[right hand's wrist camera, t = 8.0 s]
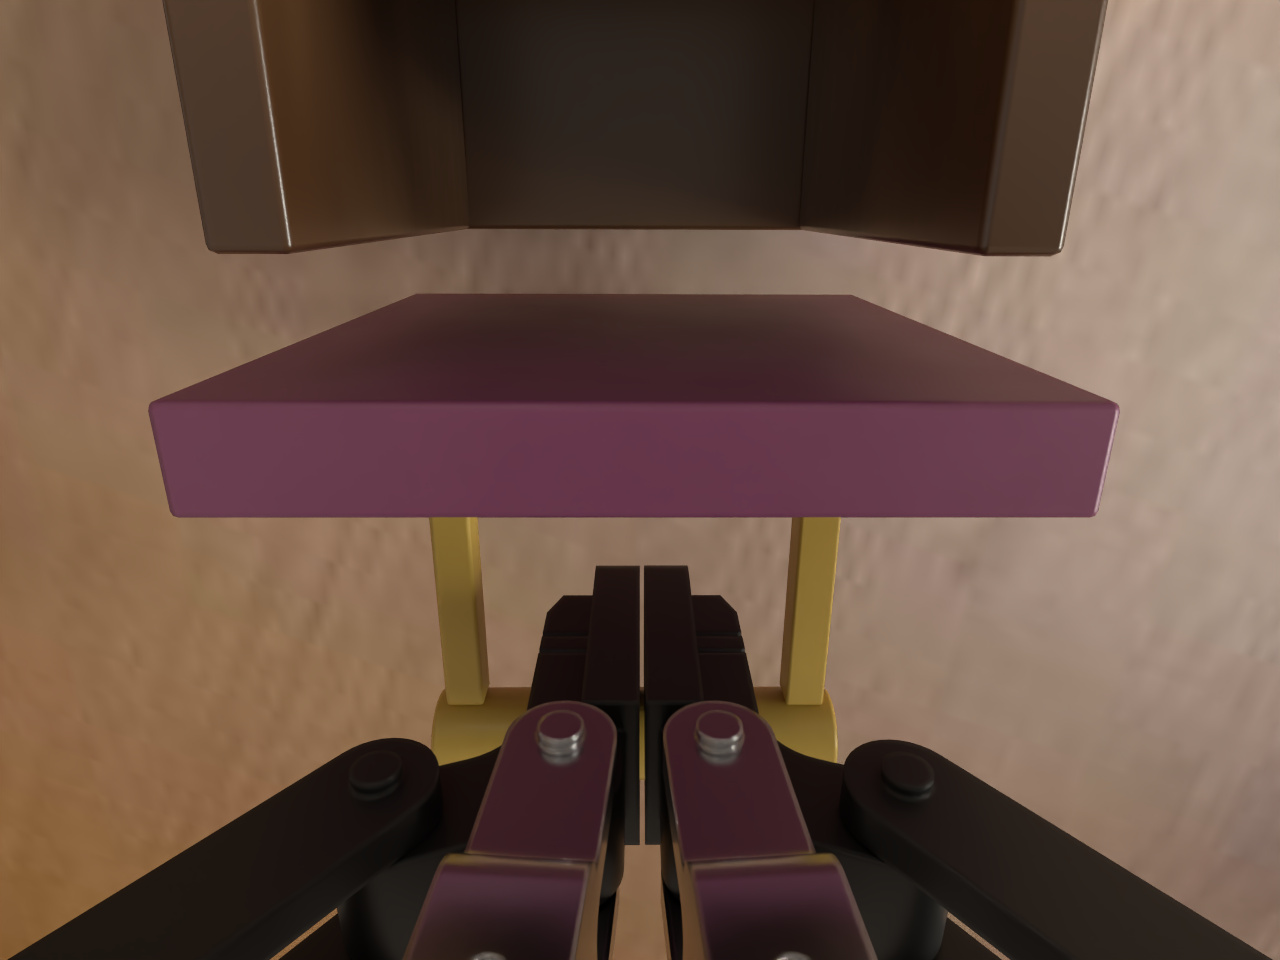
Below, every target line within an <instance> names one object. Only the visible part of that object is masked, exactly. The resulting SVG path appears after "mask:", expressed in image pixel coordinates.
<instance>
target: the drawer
mask: <svg viewBox="0 0 1280 960" xmlns="http://www.w3.org/2000/svg"><path fill="white" fill-rule="evenodd" d="M1107 3H1108V0H163V6H164V12H165V17H166V23H167V28H168V34H169V40H170V45H171V51H172V56H173V62H174V68H175V73H176V79H177V85H178V90H179V96H180V101H181V107H182V113H183V118H184V124H185V129H186V135H187V141H188V146H189V152H190V157H191V163H192V169H193V174H194V180H195V185H196V191H197V197H198V202H199V208H200V214H201V219H202V225H203V230H204V236H205V242H206V245H207V247H208V249H209V250H210V251H213V252H215V253H218V254H290V253H297V252H304V251H312V250H319V249H326V248H333V247H340V246H347V245H354V244H362V243H369V242H376V241H383V240H390V239H397V238H405V237H412V236H419V235H426V234H433V233H440V232H447V231H455V230H462V229H685V230H806V231H813V232H820V233H827V234H834V235H841V236H848V237H855V238H862V239H869V240H876V241H883V242H890V243H897V244H904V245H911V246H918V247H925V248H932V249H939V250H946V251H953V252H960V253H967V254H974V255H981V256H1052V255H1055V254H1057V253H1059V252H1061V250H1062V248H1063V246H1064V241H1065V236H1066V230H1067V225H1068V219H1069V214H1070V208H1071V202H1072V197H1073V191H1074V186H1075V180H1076V175H1077V169H1078V164H1079V158H1080V153H1081V147H1082V142H1083V136H1084V131H1085V125H1086V120H1087V114H1088V108H1089V103H1090V97H1091V92H1092V86H1093V81H1094V75H1095V70H1096V64H1097V59H1098V53H1099V48H1100V42H1101V37H1102V31H1103V26H1104V20H1105V15H1106V9H1107ZM148 412H149V416H150V421H151V426H152V430H153V435H154V439H155V444H156V448H157V453H158V458H159V462H160V467H161V471H162V476H163V481H164V485H165V490H166V494H167V499H168V504H169V508H170V512H171V513H172V515H173V516H176V517H429V521H430V531H431V541H432V552H433V562H434V573H435V583H436V594H437V604H438V615H439V625H440V635H441V646H442V656H443V667H444V677H445V688H446V689H444V690H443V691H442V693H441V695H440V697H439V700H438V702H437V706H436V709H435V714H434V720H433V727H432V741H431V751H432V752H433V753H434V754H435V756H436V758H437V760H438V763H439V766H441V765H445V764H449V763H453V762H457V761H461V760H466V759H470V758H473V757H476V756H480V755H482V754H485V753H487V752H490V751H492V750H494V749H495V748H497V747H499V746H501V745H502V743H503V740H504V737H505V734H506V732H507V730H508V728H509V726H510V725H511V724H512V722H513V721H514V720H515V719H516V718H517V717H518V716H519V715H521V714H522V713H524V712H525V711H527V706H528V701H529V696H530V692H531V687H489V671H488V657H487V644H486V630H485V616H484V602H483V589H482V575H481V561H480V548H479V534H478V520H477V517H792V528H791V541H790V554H789V567H788V581H787V594H786V607H785V620H784V633H783V646H782V660H781V673H780V686H781V687H753V688H754V693H755V698H756V702H757V707H758V711H759V715H761V716H762V717H763V718H764V719H765V720H766V721H767V722H768V724H769V725H770V726H771V728H772V730H773V732H774V734H775V737H776V740H778V741H779V742H781V743H782V744H783V745H785V746H786V747H788V748H790V749H792V750H794V751H796V752H799V753H801V754H804V755H806V756H810V757H813V758H817V759H821V760H825V761H829V762H833V763H837V754H838V736H837V725H836V718H835V712H834V708H833V704H832V701H831V698H830V696H829V694H828V692H827V690H826V689H825V688H824V684H825V674H826V664H827V654H828V643H829V633H830V623H831V613H832V603H833V593H834V583H835V573H836V562H837V552H838V542H839V532H840V522H841V517H1092V516H1095V515H1096V513H1097V512H1098V509H1099V504H1100V499H1101V495H1102V490H1103V486H1104V481H1105V477H1106V472H1107V468H1108V463H1109V459H1110V454H1111V449H1112V445H1113V440H1114V436H1115V431H1116V427H1117V422H1118V418H1119V413H1120V411H1119V406H1118V404H1117V403H1115V402H1112V401H1110V400H1108V399H1105V398H1103V397H1100V396H1098V395H1095V394H1093V393H1090V392H1088V391H1086V390H1083V389H1081V388H1078V387H1076V386H1073V385H1071V384H1068V383H1066V382H1063V381H1061V380H1059V379H1056V378H1054V377H1051V376H1049V375H1046V374H1044V373H1041V372H1039V371H1037V370H1034V369H1032V368H1029V367H1027V366H1024V365H1022V364H1019V363H1017V362H1014V361H1012V360H1010V359H1007V358H1005V357H1002V356H1000V355H997V354H995V353H992V352H990V351H988V350H985V349H983V348H980V347H978V346H975V345H973V344H970V343H968V342H965V341H963V340H961V339H958V338H956V337H953V336H951V335H948V334H946V333H943V332H941V331H939V330H936V329H934V328H931V327H929V326H926V325H924V324H921V323H919V322H916V321H914V320H912V319H909V318H907V317H904V316H902V315H899V314H897V313H894V312H892V311H890V310H887V309H885V308H882V307H880V306H877V305H875V304H872V303H870V302H867V301H865V300H863V299H860V298H858V297H855V296H853V295H697V294H415V295H412V296H410V297H407V298H405V299H403V300H400V301H398V302H395V303H393V304H390V305H388V306H385V307H383V308H381V309H378V310H376V311H373V312H371V313H368V314H366V315H363V316H361V317H358V318H356V319H354V320H351V321H349V322H346V323H344V324H341V325H339V326H336V327H334V328H332V329H329V330H327V331H324V332H322V333H319V334H317V335H314V336H312V337H309V338H307V339H305V340H302V341H300V342H297V343H295V344H292V345H290V346H287V347H285V348H283V349H280V350H278V351H275V352H273V353H270V354H268V355H265V356H263V357H260V358H258V359H256V360H253V361H251V362H248V363H246V364H243V365H241V366H238V367H236V368H233V369H231V370H229V371H226V372H224V373H221V374H219V375H216V376H214V377H211V378H209V379H207V380H204V381H202V382H199V383H197V384H194V385H192V386H189V387H187V388H184V389H182V390H180V391H177V392H175V393H172V394H170V395H167V396H165V397H162V398H160V399H158V400H155V401H153V402H151V403H150V405H149V410H148ZM640 780H645V758H644V687H640Z"/></svg>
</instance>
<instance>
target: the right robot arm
mask: <svg viewBox="0 0 1280 960" xmlns="http://www.w3.org/2000/svg"><path fill="white" fill-rule="evenodd" d="M644 758H645V845H660V847H661V907H662V916H663V925H664V934H665V943H666V952H667V960H1001V959H1000V958H999V957H998V956H996V955H995V954H994V953H992V952H991V951H990V950H989V949H987V948H986V947H985V946H983V945H982V944H981V943H980V942H978V941H977V940H976V939H974V938H973V937H972V936H971V935H969V934H968V933H967V932H966V931H964V930H963V929H962V928H960V927H959V926H958V925H957V924H955V923H954V922H953V921H951V920H950V919H949V918H948V917H947V914H948V912H950V913H951V914H952V915H954V916H955V917H956V918H957V919H959V920H960V921H961V922H963V923H964V924H965V925H966V926H968V927H969V928H970V929H972V930H973V931H974V932H976V933H977V934H978V935H979V936H981V937H982V938H983V939H985V940H986V941H987V942H988V943H990V944H991V945H992V946H994V947H995V948H996V949H997V950H999V951H1000V952H1001V953H1003V954H1004V955H1005V956H1007V957H1008V958H1009V959H1010V960H1272V959H1271V958H1269V957H1267V956H1266V955H1264V954H1262V953H1261V952H1259V951H1258V950H1256V949H1254V948H1253V947H1251V946H1249V945H1248V944H1246V943H1245V942H1243V941H1241V940H1240V939H1238V938H1236V937H1235V936H1233V935H1232V934H1230V933H1228V932H1227V931H1225V930H1223V929H1222V928H1220V927H1219V926H1217V925H1215V924H1214V923H1212V922H1210V921H1209V920H1207V919H1206V918H1204V917H1202V916H1201V915H1199V914H1197V913H1196V912H1194V911H1193V910H1191V909H1189V908H1188V907H1186V906H1185V905H1183V904H1181V903H1180V902H1178V901H1176V900H1175V899H1173V898H1172V897H1170V896H1168V895H1167V894H1165V893H1163V892H1162V891H1160V890H1159V889H1157V888H1155V887H1154V886H1152V885H1150V884H1149V883H1147V882H1146V881H1144V880H1142V879H1141V878H1139V877H1137V876H1136V875H1134V874H1133V873H1131V872H1129V871H1128V870H1126V869H1124V868H1123V867H1121V866H1120V865H1118V864H1116V863H1115V862H1113V861H1111V860H1110V859H1108V858H1107V857H1105V856H1103V855H1102V854H1100V853H1098V852H1097V851H1095V850H1094V849H1092V848H1090V847H1089V846H1087V845H1085V844H1084V843H1082V842H1081V841H1079V840H1077V839H1076V838H1074V837H1072V836H1071V835H1069V834H1068V833H1066V832H1064V831H1063V830H1061V829H1060V828H1058V827H1056V826H1055V825H1053V824H1051V823H1050V822H1048V821H1047V820H1045V819H1043V818H1042V817H1040V816H1038V815H1037V814H1035V813H1034V812H1032V811H1030V810H1029V809H1027V808H1025V807H1024V806H1022V805H1021V804H1019V803H1017V802H1016V801H1014V800H1012V799H1011V798H1009V797H1008V796H1006V795H1004V794H1003V793H1001V792H999V791H998V790H996V789H995V788H993V787H991V786H990V785H988V784H986V783H985V782H983V781H982V780H980V779H978V778H977V777H975V776H973V775H972V774H970V773H969V772H967V771H965V770H964V769H962V768H960V767H959V766H957V765H956V764H954V763H952V762H951V761H949V760H947V759H946V758H944V757H943V756H941V755H939V754H937V753H936V752H934V751H932V750H930V749H928V748H925V747H923V746H920V745H917V744H914V743H910V742H905V741H900V740H877V741H871V742H868V743H865V744H862V745H861V746H859V747H857V748H855V749H854V750H853V751H852V752H851V753H850V754H849V756H848V757H847V758H846V761H845V764H844V765H842V764H838V763H833V762H829V761H825V760H821V759H817V758H813V757H810V756H806V755H804V754H801V753H799V752H796V751H794V750H792V749H790V748H788V747H786V746H785V745H783V744H782V743H781V742H779V741H778V740H776V737H775V734H774V732H773V730H772V728H771V726H770V725H769V724H768V722H767V721H766V720H765V719H764V718H763V717H762V716H761V715H759V711H758V707H757V702H756V698H755V693H754V688H753V684H752V679H751V675H750V670H749V666H748V661H747V657H746V653H745V647H744V643H743V638H742V636H741V629H740V625H739V620H738V616H737V612H736V611H735V610H734V609H733V608H732V607H731V606H730V605H729V604H728V603H727V602H726V601H725V600H724V599H723V598H722V597H721V596H720V595H691V588H690V580H689V572H688V566H644ZM625 845H640V566H596V571H595V580H594V589H593V595H564V596H563V597H562V598H561V599H560V600H559V601H558V602H557V603H556V604H555V605H554V606H553V607H552V608H551V609H550V610H549V611H548V612H547V616H546V620H545V625H544V630H543V636H542V639H541V644H540V651H539V654H538V658H537V663H536V668H535V673H534V677H533V682H532V687H531V692H530V696H529V701H528V706H527V711H525V712H524V713H522V714H521V715H519V716H518V717H517V718H516V719H515V720H514V721H513V722H512V724H511V725H510V726H509V728H508V730H507V732H506V734H505V737H504V740H503V743H502V745H501V746H499V747H497V748H495V749H494V750H492V751H490V752H487V753H485V754H482V755H480V756H476V757H473V758H470V759H466V760H461V761H457V762H453V763H449V764H445V765H441V766H439V763H438V760H437V758H436V756H435V754H434V753H433V752H432V751H431V750H430V749H429V748H428V747H427V746H425V745H423V744H421V743H420V742H417V741H414V740H410V739H404V738H387V739H379V740H374V741H370V742H367V743H363V744H361V745H358V746H356V747H354V748H351V749H350V750H348V751H346V752H344V753H342V754H341V755H339V756H337V757H336V758H334V759H333V760H331V761H329V762H328V763H326V764H324V765H323V766H321V767H320V768H318V769H316V770H315V771H313V772H311V773H310V774H308V775H307V776H305V777H303V778H302V779H300V780H298V781H297V782H295V783H294V784H292V785H290V786H289V787H287V788H285V789H284V790H282V791H281V792H279V793H277V794H276V795H274V796H272V797H271V798H269V799H268V800H266V801H264V802H263V803H261V804H259V805H258V806H256V807H255V808H253V809H251V810H250V811H248V812H246V813H245V814H243V815H242V816H240V817H238V818H237V819H235V820H234V821H232V822H230V823H229V824H227V825H225V826H224V827H222V828H221V829H219V830H217V831H216V832H214V833H212V834H211V835H209V836H208V837H206V838H204V839H203V840H201V841H199V842H198V843H196V844H195V845H193V846H191V847H190V848H188V849H186V850H185V851H183V852H182V853H180V854H178V855H177V856H175V857H173V858H172V859H170V860H169V861H167V862H165V863H164V864H162V865H160V866H159V867H157V868H156V869H154V870H152V871H151V872H149V873H147V874H146V875H144V876H143V877H141V878H139V879H138V880H136V881H134V882H133V883H131V884H130V885H128V886H126V887H125V888H123V889H121V890H120V891H118V892H117V893H115V894H113V895H112V896H110V897H109V898H107V899H105V900H104V901H102V902H100V903H99V904H97V905H96V906H94V907H92V908H91V909H89V910H87V911H86V912H84V913H83V914H81V915H79V916H78V917H76V918H74V919H73V920H71V921H70V922H68V923H66V924H65V925H63V926H61V927H60V928H58V929H57V930H55V931H53V932H52V933H50V934H48V935H47V936H45V937H44V938H42V939H40V940H39V941H37V942H35V943H34V944H32V945H31V946H29V947H27V948H26V949H24V950H22V951H21V952H19V953H18V954H16V955H14V956H13V957H11V958H9V959H8V960H270V959H271V958H272V957H273V956H275V955H276V954H277V953H279V952H280V951H281V950H283V949H284V948H285V947H286V946H288V945H289V944H290V943H292V942H293V941H294V940H295V939H297V938H298V937H299V936H301V935H302V934H303V933H304V932H306V931H307V930H308V929H310V928H311V927H312V926H314V925H315V924H316V923H317V922H319V921H320V920H321V919H323V918H324V917H325V916H326V915H328V914H329V913H330V912H332V911H333V910H334V909H335V908H337V911H338V914H336V915H335V916H334V917H332V918H331V919H330V920H329V921H327V922H326V923H325V924H323V925H322V926H321V927H320V928H318V929H317V930H316V931H315V932H313V933H312V934H311V935H309V936H308V937H307V938H306V939H304V940H303V941H302V942H300V943H299V944H298V945H297V946H295V947H294V948H293V949H291V950H290V951H289V952H288V953H286V954H285V955H284V956H283V957H281V958H280V959H279V960H613V951H614V943H615V934H616V925H617V916H618V907H619V885H620V883H621V880H622V877H623V872H624V846H625Z"/></svg>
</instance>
